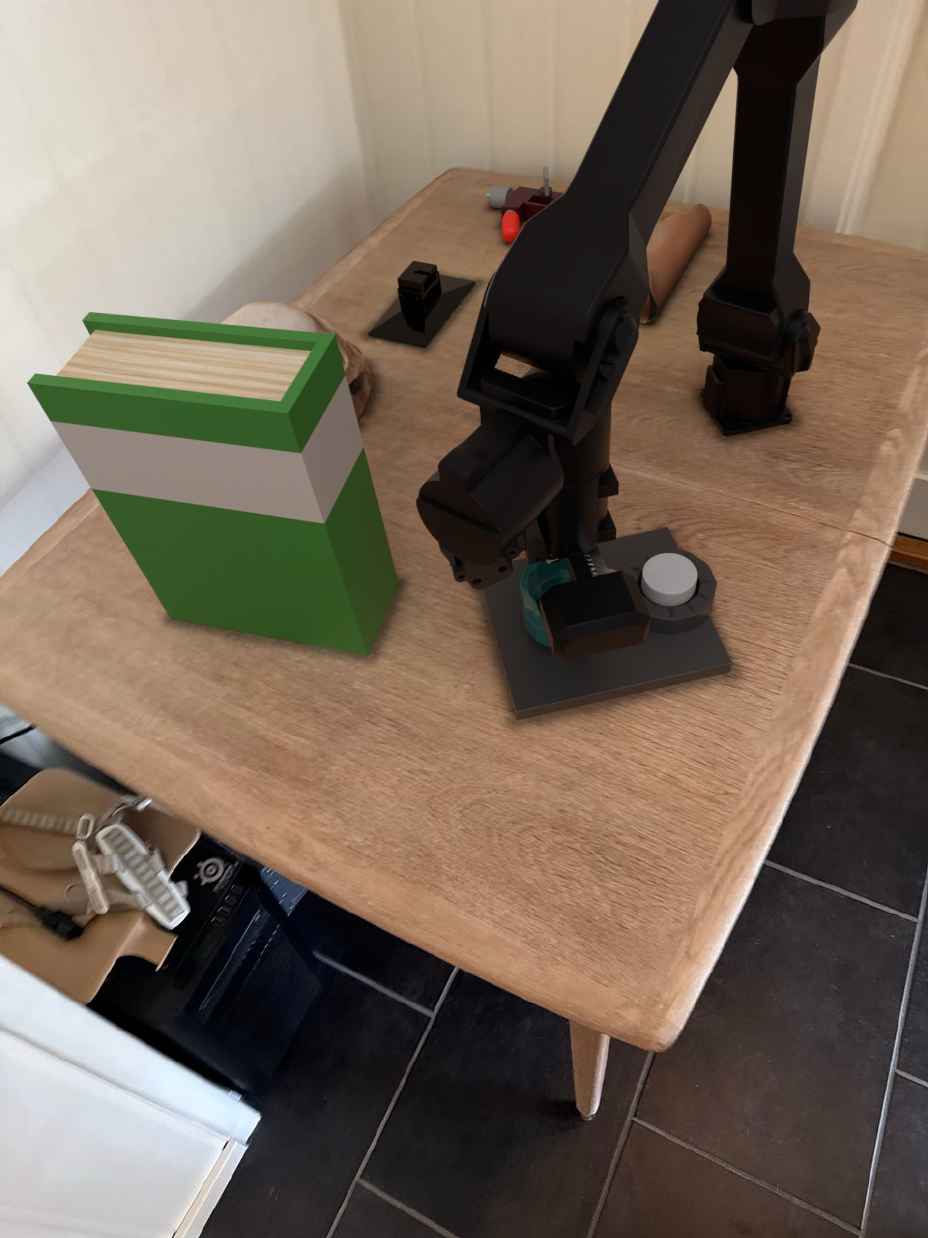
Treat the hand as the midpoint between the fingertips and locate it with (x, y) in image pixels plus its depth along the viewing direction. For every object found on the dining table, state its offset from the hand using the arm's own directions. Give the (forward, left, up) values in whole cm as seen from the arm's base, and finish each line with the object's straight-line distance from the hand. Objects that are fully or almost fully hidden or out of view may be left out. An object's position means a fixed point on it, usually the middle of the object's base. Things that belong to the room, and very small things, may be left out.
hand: (565, 609), depth 66 cm
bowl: (0, 0, -1) cm, 1 cm away
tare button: (-8, 0, 0) cm, 8 cm away
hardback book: (+22, -9, -3) cm, 23 cm away
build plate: (+4, -46, -3) cm, 46 cm away
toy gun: (-10, -59, -3) cm, 60 cm away
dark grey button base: (-2, 0, -2) cm, 3 cm away
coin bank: (+18, -32, -3) cm, 37 cm away
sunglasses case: (-21, -44, -3) cm, 49 cm away
